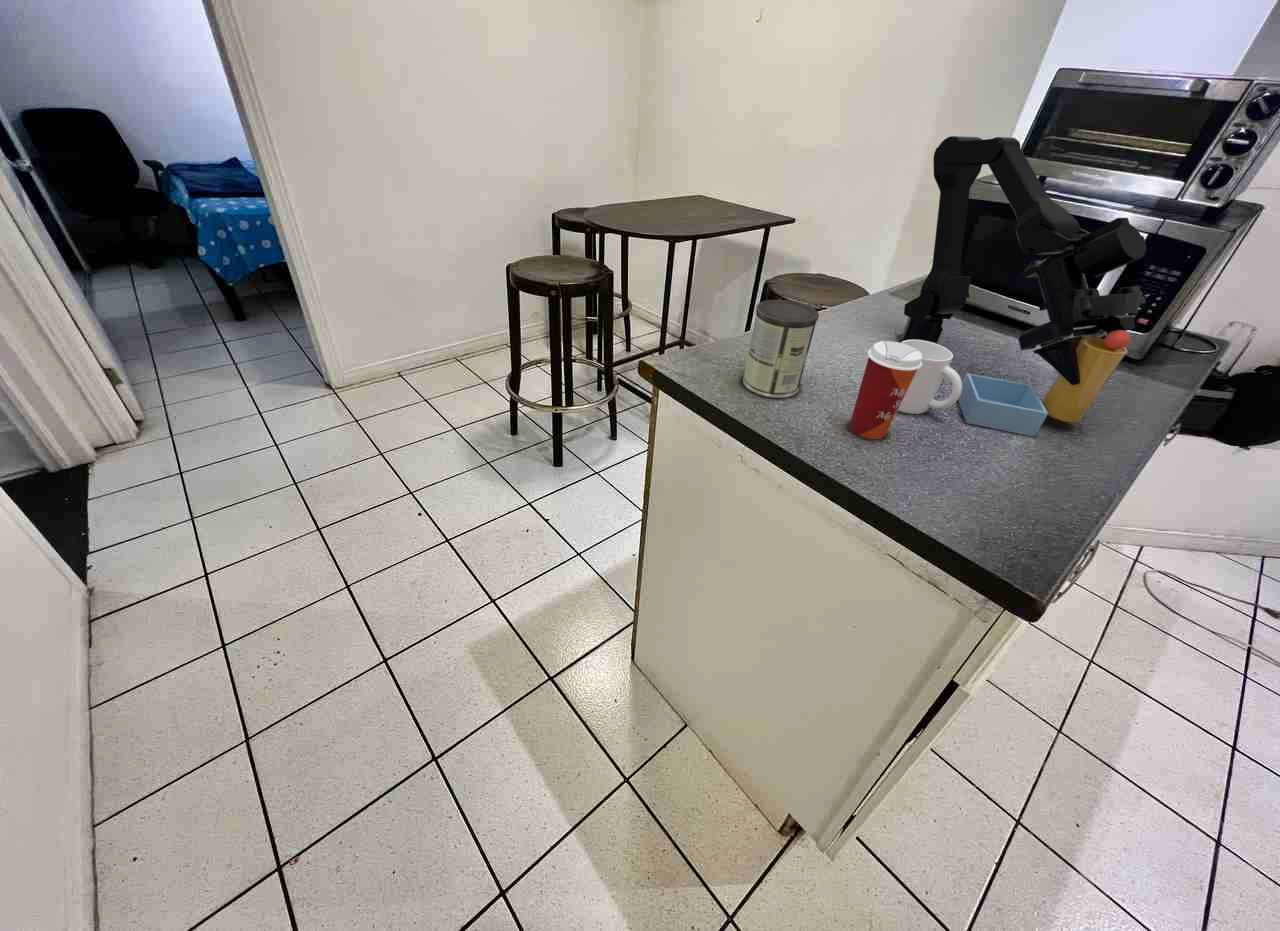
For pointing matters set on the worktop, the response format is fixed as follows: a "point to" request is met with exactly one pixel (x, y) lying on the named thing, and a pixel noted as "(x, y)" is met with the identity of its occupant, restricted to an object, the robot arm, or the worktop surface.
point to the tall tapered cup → (1083, 380)
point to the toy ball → (1117, 339)
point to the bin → (1001, 404)
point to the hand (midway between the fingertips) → (1089, 382)
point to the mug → (930, 379)
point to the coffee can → (779, 347)
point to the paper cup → (883, 387)
